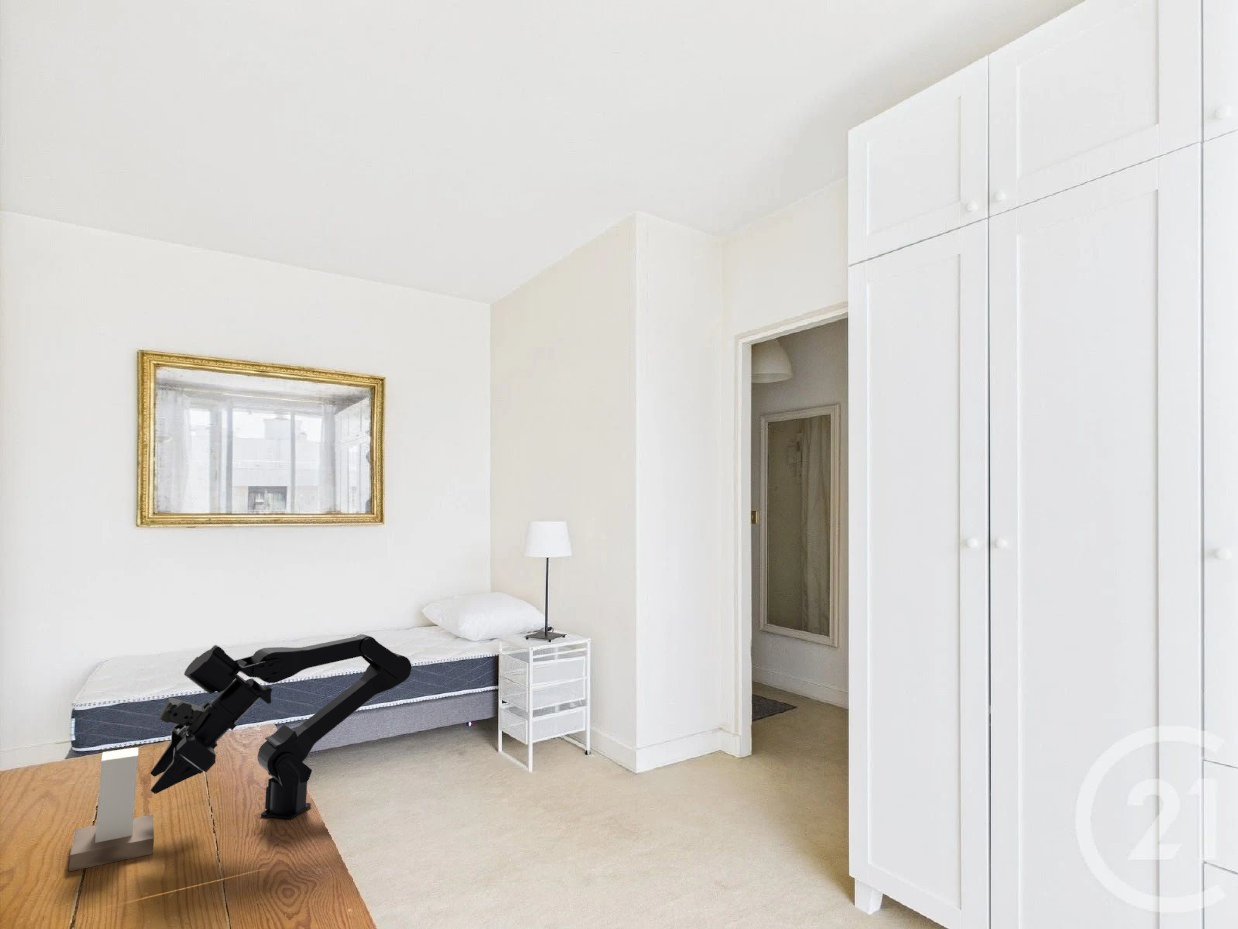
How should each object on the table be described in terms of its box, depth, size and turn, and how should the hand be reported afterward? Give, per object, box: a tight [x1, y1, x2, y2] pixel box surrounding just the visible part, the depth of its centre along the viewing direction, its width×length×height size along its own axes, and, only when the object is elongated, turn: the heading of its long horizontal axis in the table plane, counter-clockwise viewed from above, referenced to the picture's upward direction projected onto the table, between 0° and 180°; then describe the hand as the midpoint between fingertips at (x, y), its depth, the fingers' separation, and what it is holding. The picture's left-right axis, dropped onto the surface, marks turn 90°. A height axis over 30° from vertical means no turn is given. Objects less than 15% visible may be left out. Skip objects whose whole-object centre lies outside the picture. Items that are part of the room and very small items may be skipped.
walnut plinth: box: [68, 814, 155, 872], centre depth 117 cm, size 11×11×2 cm
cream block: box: [95, 747, 139, 843], centre depth 117 cm, size 5×5×13 cm
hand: (152, 783), depth 120 cm, fingers open, 9 cm apart
